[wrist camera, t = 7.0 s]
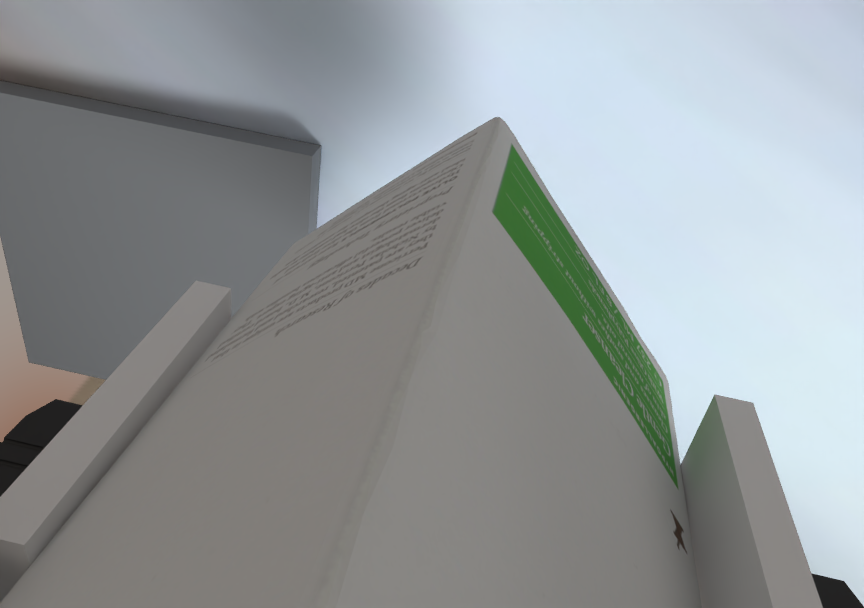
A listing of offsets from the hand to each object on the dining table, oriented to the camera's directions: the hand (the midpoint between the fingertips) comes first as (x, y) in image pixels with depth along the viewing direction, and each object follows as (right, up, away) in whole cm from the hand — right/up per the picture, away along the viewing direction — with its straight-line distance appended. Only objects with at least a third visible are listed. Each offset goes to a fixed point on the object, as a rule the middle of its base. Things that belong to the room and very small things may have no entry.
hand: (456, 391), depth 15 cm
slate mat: (-11, +4, +13) cm, 17 cm away
